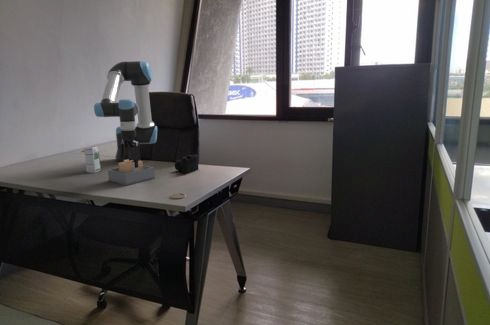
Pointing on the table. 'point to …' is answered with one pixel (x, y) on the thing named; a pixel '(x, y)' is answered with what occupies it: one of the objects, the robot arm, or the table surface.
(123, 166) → the small crate
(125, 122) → the robot arm
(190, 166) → the camera
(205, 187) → the table surface
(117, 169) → the large crate
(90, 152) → the syrup box
